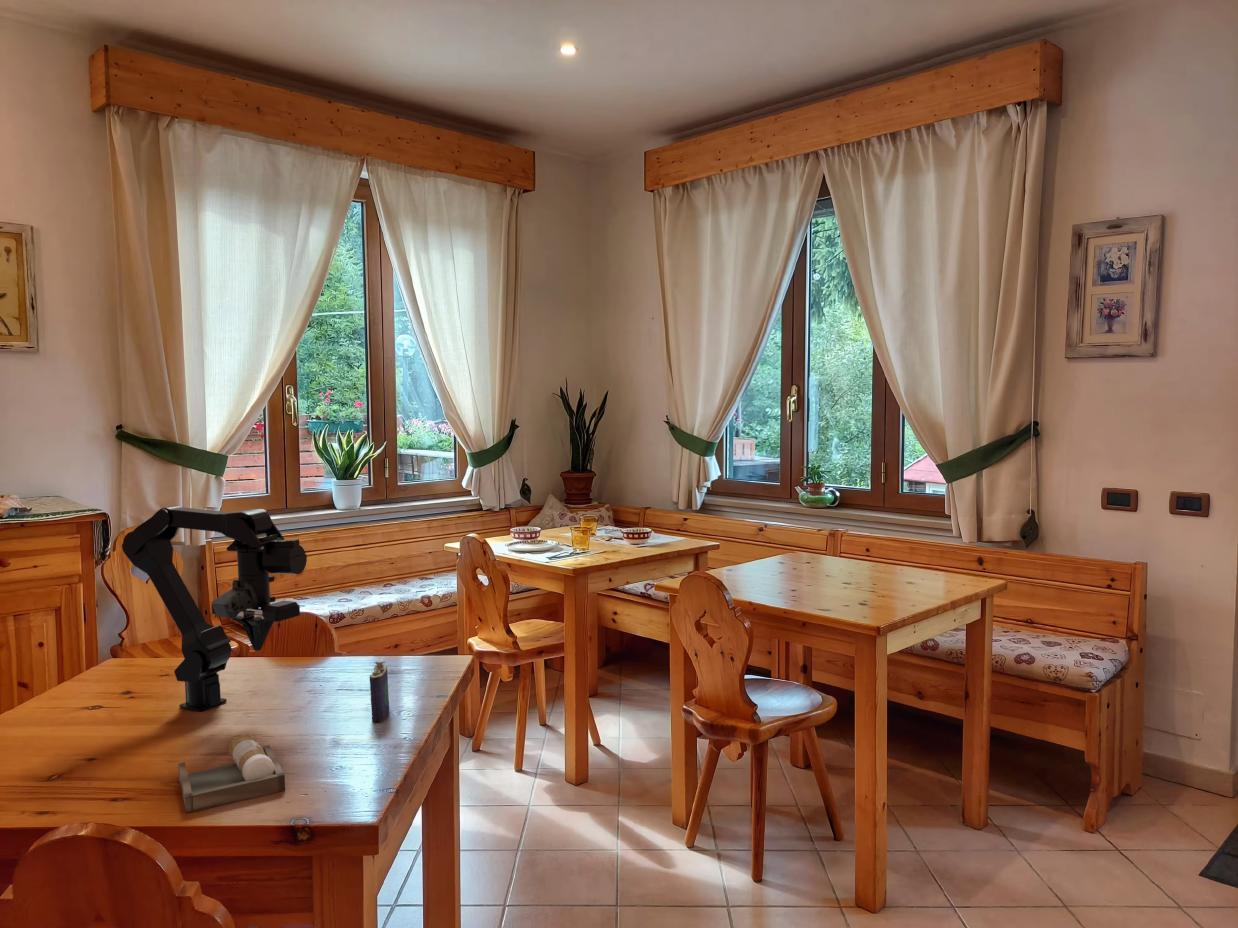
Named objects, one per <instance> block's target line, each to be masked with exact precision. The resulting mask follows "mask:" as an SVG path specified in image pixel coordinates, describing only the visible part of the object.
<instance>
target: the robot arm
mask: <svg viewBox="0 0 1238 928" xmlns="http://www.w3.org/2000/svg"><path fill="white" fill-rule="evenodd" d="M270 515H271V514H269V513H268V511H267V510H266V509H264V508H254V509H253V508H251V509H242V510H235V511H223V510H214V509H213V510H211V509H201V508H193V507H192V508H191V507H183V506H180V505H173V506H172V505H171V506H167V507H166V506H165V507H161V508H159V509H158V510H157V511H156V512H155V513H154V514H153V515H152V516H151V517H149V518H148V519H147V520H145V521H144V522H142V523H141V524H139V525H138V526H137V527H136V528H135V529H133V531H130V532H128V533H126V535H125V536H124V538H123V540H122V543H121V548H122V552H123V554H124V556H126V557H127V559H128V560H129V561H130V563H131V564H132V565H133V566H134V567H136V568H137V569H139V570H140V571H142V572H144V573H145V574H146V575H148V577H149V579H150V581H151V582H152V584H153V586H154V588H155V590H156V591H157V593H158V594H159V595H158V596H159V597H160V598H161V600H162V602H163V603H164V605H165V608H166V609H167V611H168V613H169V614H170V617H172V618H171V619H172V620H173V622H174V624H175V625H176V627H177V629H178V630H179V633H180V634H181V649H180V650H181V653H182V655H183V660H182V662H181V663H179V664H178V666H177V667H176V669H174V671H173V673H174V675H175V679H176V681H177V682H184V688H185V702H183V703H180V704H179V705H178V706H179V708H182V709H185V710H192V711H195V712H203V711H205V710H208V709H211V708H213V707H216V706H218V705H221V704H223V703H226V702H228V701H227V698H223V697H221V695H222V694H221V682H220V675H219V674H218V673H219V672H221V671H224V670H226V668H227V664H228V661H229V659H230V657H231V653H232V652H233V650H232V646H231V644H230V643H231V642H232V640H231V639H230V638H229V637H228V635H227V634H226V633H225V629H224V628H223V626H222V625H221V624H218V625H216V626H212V625H211V624H210V623H208V622H207V621H206V619H205V618H204V616H203V614H202V612H201V611H200V609H199V607H198V606H197V604H196V602H195V600H194V598H193V596H192V594H191V593H190V591H189V589H188V588H187V586H186V585H185V583H184V581H183V578H182V577H181V575H180V574H179V571H178V570H177V568H176V566H175V564H174V563H173V560H174V559H173V557H174V547H173V544H172V540H174V538H176V537H177V535H178V533H179V530H180V529H186V530H196V531H197V530H198V531H205V532H214V533H215V532H216V533H220V534H222V535H224V537H226V538H229V539H232V540H233V541H232V542H231V543H230V544H229V545H228V546H227V547H226V551H227V552H236V560H237V561H236V562H237V578H236V579H233V581H232V582H231V583H232V585H231V586H232V588H231V589H230V590H228V591H225V592H224V593H223V594H221V595H220V596H218V597H217V598H215V599H214V600H213V601H211V614H212V615H216V617H217V618H226V619H229V620H230V619H232V621H236V622H237V623H239V624H240V625H241V626H242V627H243V629H244V631H245V633H246V635H247V638H248V639H249V642H250V644H251V647H252V649H253V651H255V652H259V651H261V650H262V649H263V646H264V644H265V642H266V640H267V637H268V635H269V632H270V630H271V628H272V626H273V624H274V623H277V622H282V621H285V620H290V619H292V618H295V617H299V616H301V609H300V608H301V607H300V604H299V603H298V602H297V601H292V600H280V601H276V596H275V595H274V596H273V595H271V583H273V582H275V576H274V575H276V574H277V575H278V574H279V575H300V574H302V573H303V572H304V570H305V568H306V566H307V561H308V555H307V553H306V551H305V548H304V547H303V546H302V545H300V539H299V538H294V539H293V538H292V539H285V538H284V536H283V534H282V533H281V532H280V530H279V529H278V528H277V526H276V524H275V523H274V522H273V521H272V518H271V516H270ZM270 574H273V575H270Z"/></svg>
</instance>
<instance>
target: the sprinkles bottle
mask: <svg viewBox="0 0 1238 928" xmlns="http://www.w3.org/2000/svg"><path fill="white" fill-rule="evenodd" d="M228 753H229V757H231V758H232V759H233V761H234V764H236V765H237V766H238V768H239V769H240V771H241V772H242V775H243V777H244V779H245V780H246V781H248V780H253V779H257V778H261V777H266V776H270V775H273V774H274V764H273V762H272V761H271V759H270V758H269V757H268V756H266V755H265V753H264V751H263V747H262V746H260V744H259V743H258V741H257V740H256V738H255V737H254V736H253V735H251V734H247V733H246V734H245V733H244V734H240V735H237V736H236V737H234V738H233V739H232V740H231V741H230V743H229V746H228Z"/></svg>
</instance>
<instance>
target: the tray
mask: <svg viewBox="0 0 1238 928" xmlns="http://www.w3.org/2000/svg"><path fill="white" fill-rule="evenodd" d="M262 750H263V751H264V753H265V755H266V756H268V757H269V758H270V759H271V761H272V762H273V764H274V774H273V775H270V776H266V777H261V778H257V779H253V780H248V781H246V780H245V779H244V777H243V775H242V772H241V771H240V769H239V768H238V766H237V765H236V763H234V764H228V765H223V766H219V767H214V768H210V769H205V770H200V771H197V772H196V771H195V772H192V773H188V769H187V765H186V761H183V762H177V767H178V780H179V784H180V786H179V787H180V790H181V793H182V794H181V795H182V800H183V805H184V809H185V813H186V814H190V813H194V811H195V812H198V811H204V810H207V809H211V808H210V807H212V808H214V807H215V806H216V807H219V806H218V805H220V806H224V805H228V803H229V804H232V803H233V804H234V803H236V802H237V803H238V802H240V801H245V800H250V799H253V798H254V799H255V798H257V797H262V796H266V795H270V794H271V795H272V794H277V793H279V792H283V791H286V779H285V777H286V776H285V775H286V774H285V773H284V771H283V769H282V767H281V765H280V763H279V762H278V759H277V757H276V755H275V753H274V751H273V749H272V747H271V745H270V744H266V745H263V746H262ZM216 807H215V808H216ZM206 808H207V809H206ZM188 812H189V813H188Z"/></svg>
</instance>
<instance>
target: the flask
mask: <svg viewBox="0 0 1238 928" xmlns="http://www.w3.org/2000/svg"><path fill="white" fill-rule="evenodd" d="M374 664H376V665H375V666H374V669H373V671H372V673H371V674H370V675H369V689H370V705H371V706H370V708H371V723H373V724H382V723H384V722H385V721H386V720H387V719H388V718H389V715H390V701H389V700H390V699H389V677H388V675H389V673H388V666H387V664H386V661H374Z"/></svg>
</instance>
